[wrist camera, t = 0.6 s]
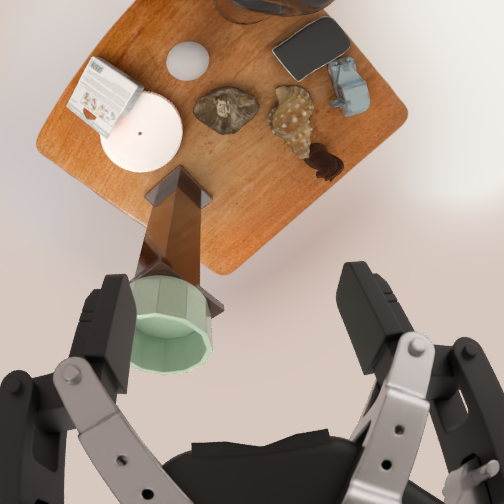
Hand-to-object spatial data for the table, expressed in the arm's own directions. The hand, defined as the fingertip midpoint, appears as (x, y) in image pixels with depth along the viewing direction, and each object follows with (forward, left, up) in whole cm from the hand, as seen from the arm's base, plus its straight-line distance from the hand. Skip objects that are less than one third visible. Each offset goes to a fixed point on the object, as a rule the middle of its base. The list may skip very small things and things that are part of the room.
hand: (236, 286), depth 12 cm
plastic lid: (-3, -13, -45) cm, 47 cm away
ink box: (-14, -8, -42) cm, 45 cm away
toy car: (+12, +17, -45) cm, 50 cm away
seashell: (+12, +7, -45) cm, 47 cm away
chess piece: (+20, +7, -45) cm, 50 cm away
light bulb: (-7, +1, -45) cm, 46 cm away
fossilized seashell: (+3, 0, -45) cm, 45 cm away
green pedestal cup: (+11, -17, -45) cm, 49 cm away
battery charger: (+3, +11, -44) cm, 45 cm away
